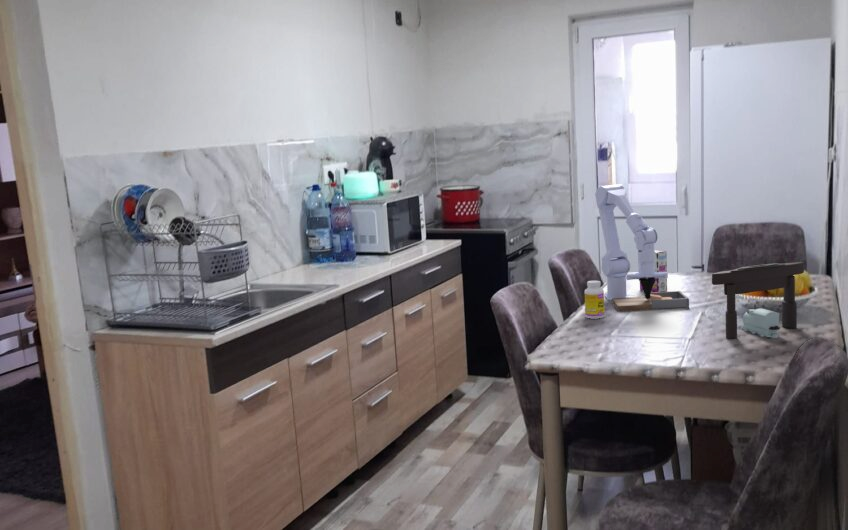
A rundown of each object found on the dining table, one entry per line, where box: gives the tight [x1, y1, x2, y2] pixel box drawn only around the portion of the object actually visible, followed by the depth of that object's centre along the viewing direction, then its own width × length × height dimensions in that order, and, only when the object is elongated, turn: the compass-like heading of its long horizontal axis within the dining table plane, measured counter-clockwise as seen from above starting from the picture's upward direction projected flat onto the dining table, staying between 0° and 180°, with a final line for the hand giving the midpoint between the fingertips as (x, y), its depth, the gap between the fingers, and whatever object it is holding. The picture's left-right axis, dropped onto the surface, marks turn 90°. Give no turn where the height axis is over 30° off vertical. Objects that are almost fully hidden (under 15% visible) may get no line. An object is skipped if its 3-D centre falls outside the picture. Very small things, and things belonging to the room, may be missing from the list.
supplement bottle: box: [584, 280, 605, 320], centre depth 272 cm, size 7×7×13 cm
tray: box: [647, 290, 690, 311], centre depth 284 cm, size 14×13×4 cm
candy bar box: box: [639, 249, 668, 292], centre depth 309 cm, size 11×5×16 cm, turn 25°
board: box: [611, 296, 653, 312], centre depth 285 cm, size 14×12×2 cm
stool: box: [711, 261, 805, 340], centre depth 237 cm, size 16×21×33 cm
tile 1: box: [648, 294, 662, 301], centre depth 284 cm, size 4×4×2 cm
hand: (647, 298), depth 284 cm, fingers closed
